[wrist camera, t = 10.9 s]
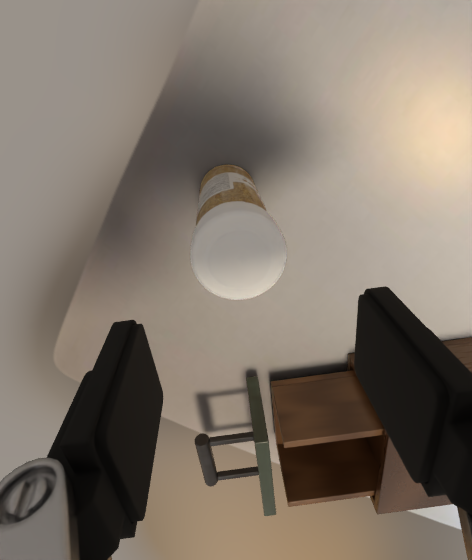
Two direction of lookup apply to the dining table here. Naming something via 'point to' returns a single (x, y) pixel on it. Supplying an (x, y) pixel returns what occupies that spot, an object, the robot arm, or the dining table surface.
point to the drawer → (309, 440)
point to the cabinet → (392, 473)
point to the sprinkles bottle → (235, 237)
